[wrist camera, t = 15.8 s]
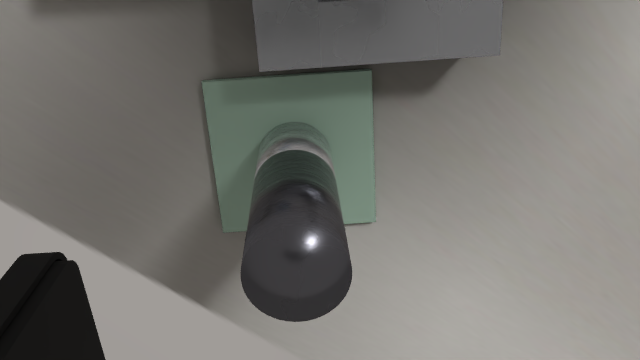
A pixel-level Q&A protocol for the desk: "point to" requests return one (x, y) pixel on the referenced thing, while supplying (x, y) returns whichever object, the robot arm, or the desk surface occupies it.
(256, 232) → the dark gray capped cylinder
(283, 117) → the mat
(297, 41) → the block
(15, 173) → the desk surface
